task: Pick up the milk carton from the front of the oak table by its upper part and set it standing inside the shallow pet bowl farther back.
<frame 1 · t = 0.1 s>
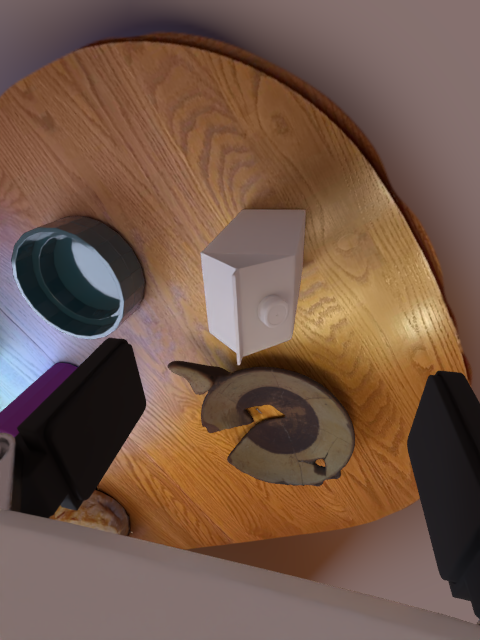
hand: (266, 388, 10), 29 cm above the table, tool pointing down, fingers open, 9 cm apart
shallow pet bowl: (95, 270, 46), on the table
milk carton: (273, 239, 38), on the table
broken pan: (271, 397, 51), on the table
mug: (84, 393, 61), on the table
bread: (91, 509, 85), on the table
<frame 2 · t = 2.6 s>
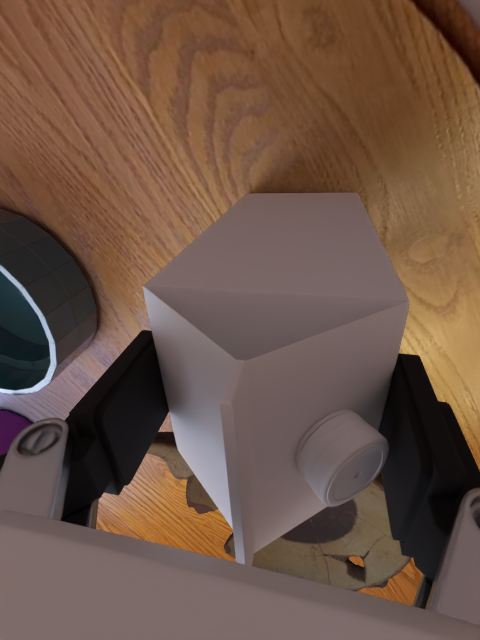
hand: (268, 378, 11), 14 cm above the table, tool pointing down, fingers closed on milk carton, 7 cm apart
shallow pet bowl: (26, 289, 30), on the table
milk carton: (298, 244, 23), on the table, touching gripper
broken pan: (286, 466, 36), on the table
mug: (34, 446, 45), on the table
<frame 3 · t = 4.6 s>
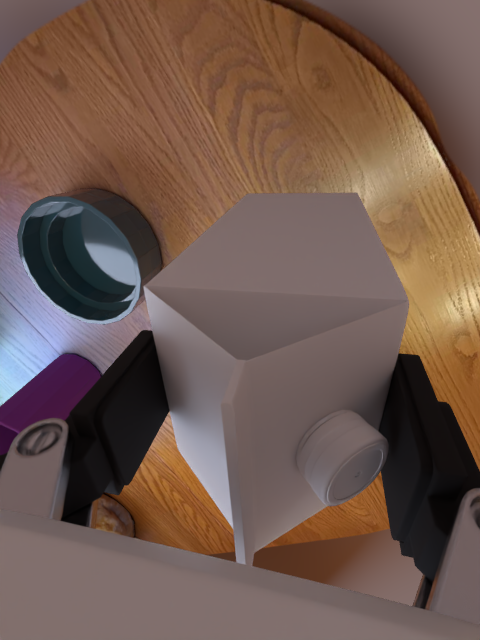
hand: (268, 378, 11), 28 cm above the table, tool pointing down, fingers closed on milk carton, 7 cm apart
shallow pet bowl: (108, 250, 42), on the table
milk carton: (298, 244, 23), point 13 cm above the table, touching gripper
mug: (91, 387, 57), on the table
bread: (93, 513, 80), on the table
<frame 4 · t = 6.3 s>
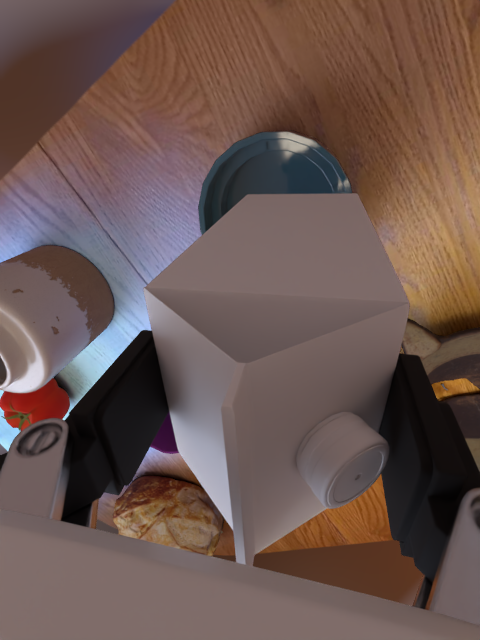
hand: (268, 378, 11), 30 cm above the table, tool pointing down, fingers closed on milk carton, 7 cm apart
shallow pet bowl: (279, 207, 37), on the table
milk carton: (298, 245, 23), point 16 cm above the table, touching gripper
tomato: (53, 385, 63), on the table
broken pan: (467, 369, 42), on the table
mug: (212, 368, 52), on the table
vase: (70, 291, 50), on the table
bread: (177, 506, 76), on the table
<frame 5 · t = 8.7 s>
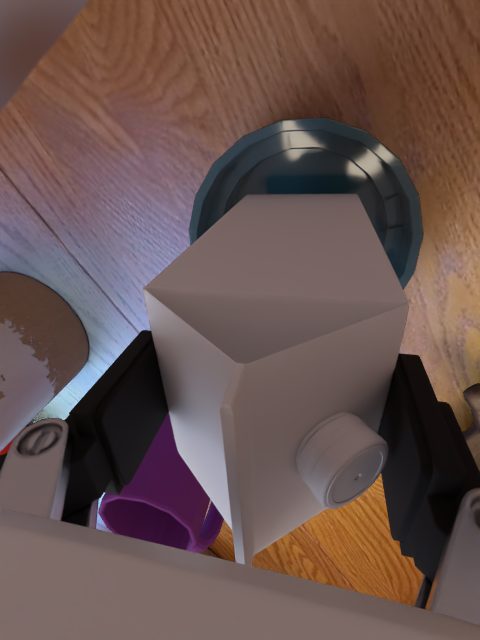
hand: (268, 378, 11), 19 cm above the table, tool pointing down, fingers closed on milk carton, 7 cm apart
shallow pet bowl: (301, 227, 27), on the table
milk carton: (298, 245, 23), point 5 cm above the table, touching gripper
mug: (212, 420, 42), on the table
vase: (34, 327, 40), on the table
when the fingers open (15 cm above the table, at t = 10.4 s): milk carton stays where it is, resting on shallow pet bowl.
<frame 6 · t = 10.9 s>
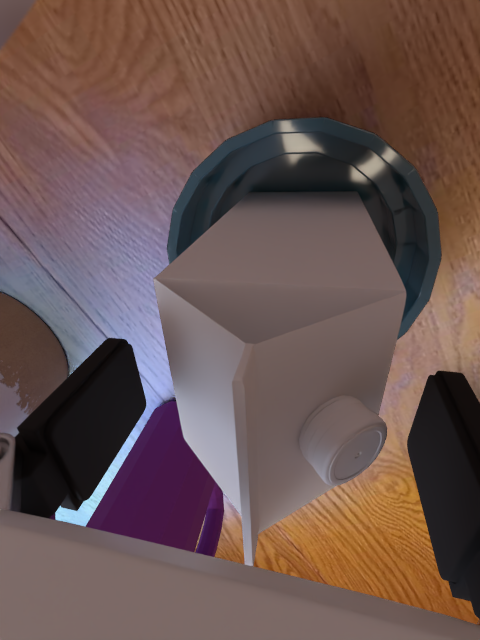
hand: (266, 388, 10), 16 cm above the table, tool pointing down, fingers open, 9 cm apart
shallow pet bowl: (298, 241, 24), on the table
milk carton: (299, 242, 23), resting on shallow pet bowl
mug: (202, 444, 39), on the table
vase: (9, 345, 37), on the table
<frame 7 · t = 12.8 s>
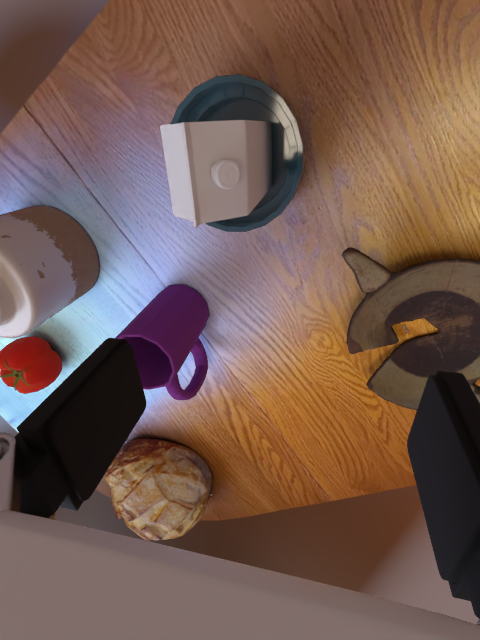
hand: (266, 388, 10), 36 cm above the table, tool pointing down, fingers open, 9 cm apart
shallow pet bowl: (243, 157, 40), on the table
milk carton: (243, 157, 40), resting on shallow pet bowl
tomato: (47, 349, 67), on the table
broken pan: (425, 309, 45), on the table
mug: (192, 323, 55), on the table
vase: (58, 252, 54), on the table
bread: (168, 470, 79), on the table
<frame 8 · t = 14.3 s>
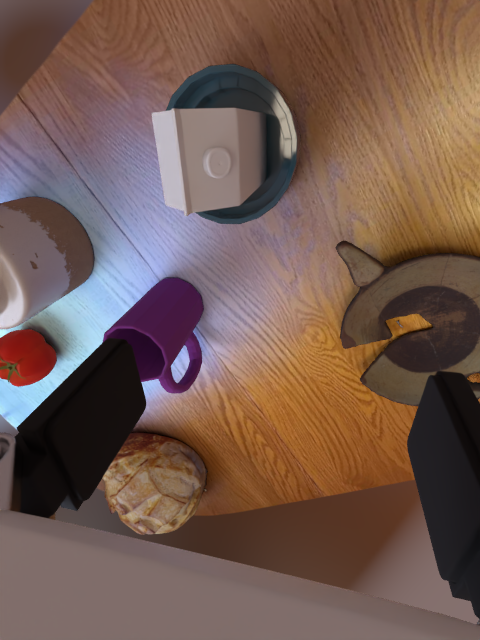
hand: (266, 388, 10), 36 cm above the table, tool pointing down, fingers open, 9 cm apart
shallow pet bowl: (238, 149, 40), on the table
milk carton: (238, 149, 40), resting on shallow pet bowl
tomato: (41, 342, 66), on the table
broken pan: (419, 305, 45), on the table
mug: (187, 317, 55), on the table
vase: (53, 244, 54), on the table
bread: (162, 464, 79), on the table
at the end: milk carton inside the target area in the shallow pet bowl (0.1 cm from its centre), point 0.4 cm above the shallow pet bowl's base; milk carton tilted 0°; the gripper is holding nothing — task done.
